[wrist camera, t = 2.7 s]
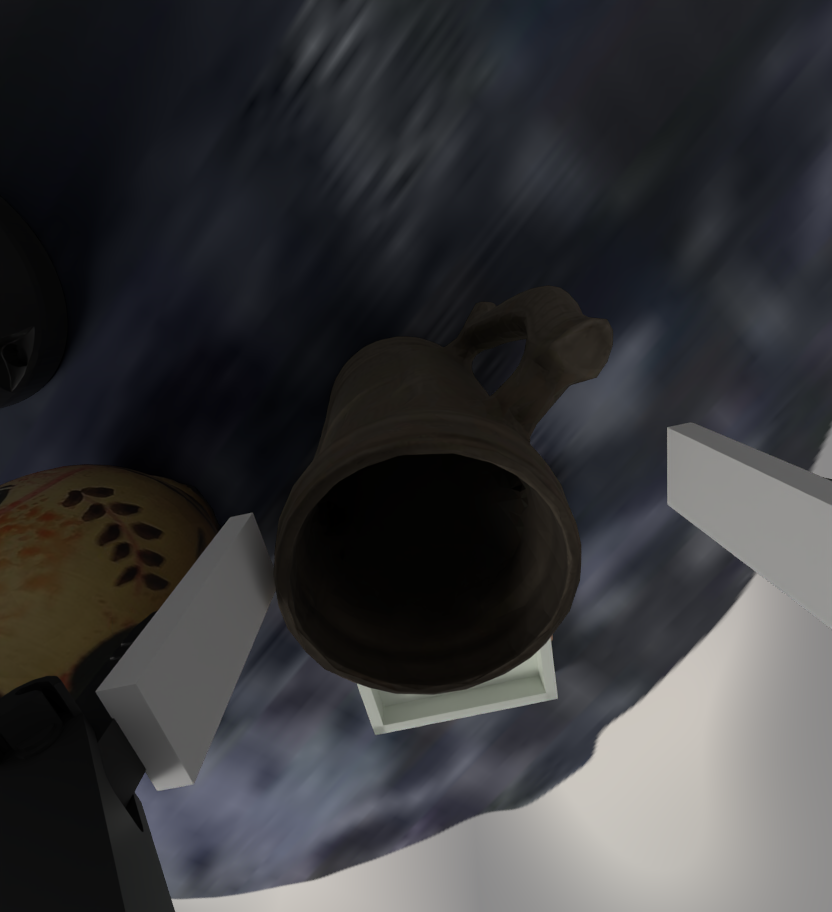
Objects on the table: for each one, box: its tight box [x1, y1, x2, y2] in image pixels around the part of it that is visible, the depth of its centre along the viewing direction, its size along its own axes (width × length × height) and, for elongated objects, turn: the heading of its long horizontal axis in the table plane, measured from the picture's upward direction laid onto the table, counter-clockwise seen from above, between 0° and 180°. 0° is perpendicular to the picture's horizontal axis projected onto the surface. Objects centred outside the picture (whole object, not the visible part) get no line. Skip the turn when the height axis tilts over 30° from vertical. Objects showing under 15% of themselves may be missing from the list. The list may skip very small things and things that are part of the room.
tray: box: [357, 636, 558, 735], centre depth 37 cm, size 17×21×2 cm
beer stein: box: [274, 285, 613, 695], centre depth 22 cm, size 15×11×20 cm
